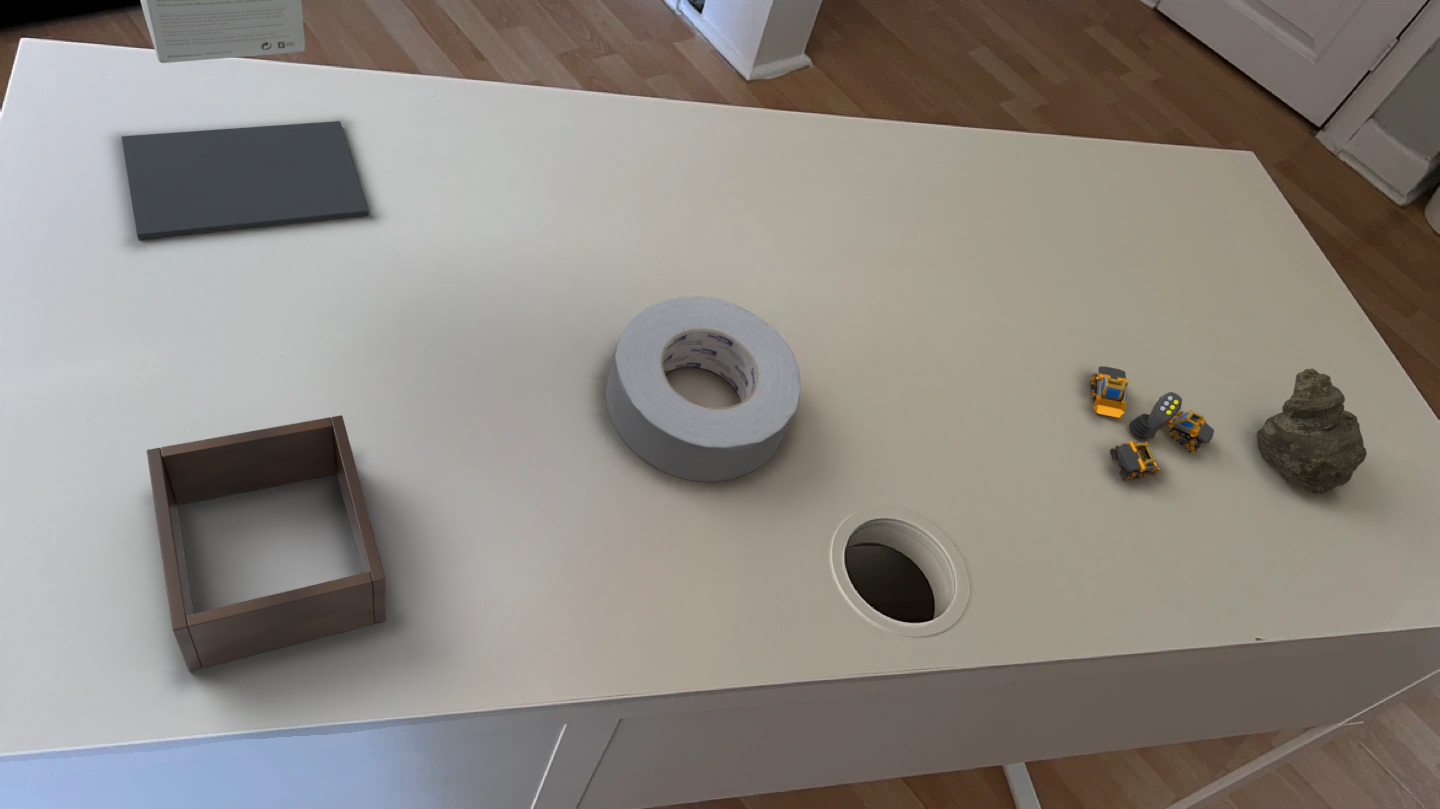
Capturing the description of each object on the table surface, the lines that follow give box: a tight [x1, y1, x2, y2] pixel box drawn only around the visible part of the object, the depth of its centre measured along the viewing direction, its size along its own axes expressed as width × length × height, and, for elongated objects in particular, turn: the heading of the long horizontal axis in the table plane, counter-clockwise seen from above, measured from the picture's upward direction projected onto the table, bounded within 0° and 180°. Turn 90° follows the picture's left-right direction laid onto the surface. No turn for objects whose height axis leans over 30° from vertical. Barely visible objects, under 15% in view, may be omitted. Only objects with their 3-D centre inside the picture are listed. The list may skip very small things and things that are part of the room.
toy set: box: [1089, 365, 1215, 482], centre depth 96 cm, size 12×11×5 cm
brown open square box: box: [146, 414, 387, 672], centre depth 70 cm, size 12×13×6 cm
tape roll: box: [605, 295, 802, 483], centre depth 87 cm, size 15×15×5 cm
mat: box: [120, 120, 370, 240], centre depth 92 cm, size 18×12×1 cm, turn 113°
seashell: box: [1256, 367, 1401, 506], centre depth 98 cm, size 11×12×10 cm
